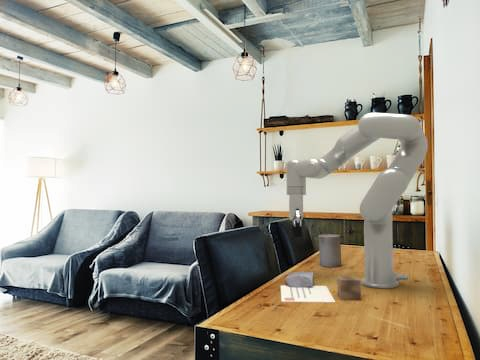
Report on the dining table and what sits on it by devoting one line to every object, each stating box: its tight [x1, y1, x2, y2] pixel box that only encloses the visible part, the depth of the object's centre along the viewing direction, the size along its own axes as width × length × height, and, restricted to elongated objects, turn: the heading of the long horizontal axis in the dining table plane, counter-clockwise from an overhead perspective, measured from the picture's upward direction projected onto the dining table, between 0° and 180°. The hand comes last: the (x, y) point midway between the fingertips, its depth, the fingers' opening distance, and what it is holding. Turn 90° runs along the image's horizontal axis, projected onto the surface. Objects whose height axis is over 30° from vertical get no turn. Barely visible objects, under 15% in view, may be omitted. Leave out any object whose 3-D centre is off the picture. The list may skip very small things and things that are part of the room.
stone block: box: [285, 270, 315, 287], centre depth 135 cm, size 12×5×10 cm
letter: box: [280, 284, 336, 303], centre depth 122 cm, size 16×20×1 cm
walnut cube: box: [336, 275, 362, 301], centre depth 116 cm, size 6×6×6 cm
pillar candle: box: [318, 232, 342, 268], centre depth 169 cm, size 10×10×15 cm
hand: (297, 235), depth 146 cm, fingers open, 8 cm apart
